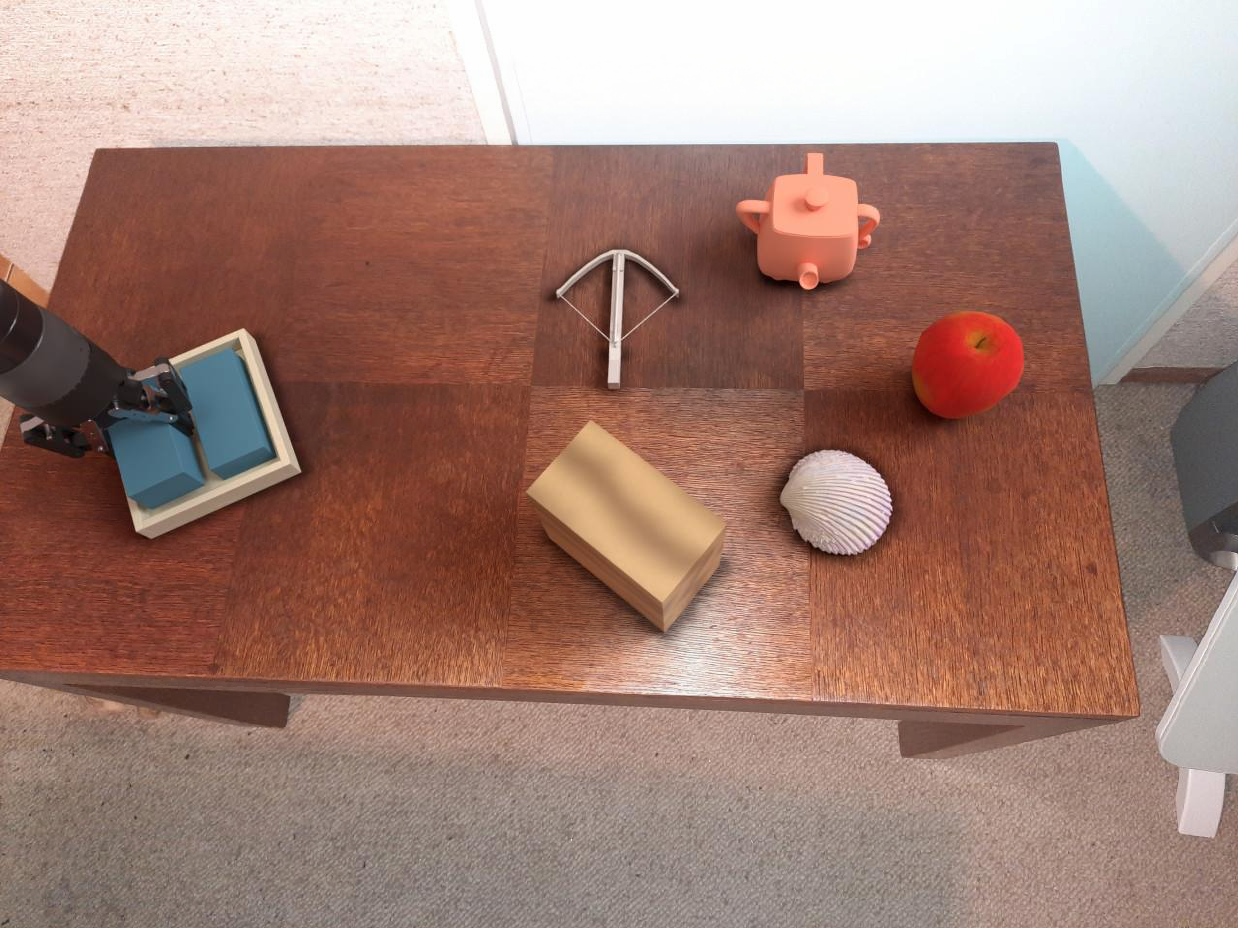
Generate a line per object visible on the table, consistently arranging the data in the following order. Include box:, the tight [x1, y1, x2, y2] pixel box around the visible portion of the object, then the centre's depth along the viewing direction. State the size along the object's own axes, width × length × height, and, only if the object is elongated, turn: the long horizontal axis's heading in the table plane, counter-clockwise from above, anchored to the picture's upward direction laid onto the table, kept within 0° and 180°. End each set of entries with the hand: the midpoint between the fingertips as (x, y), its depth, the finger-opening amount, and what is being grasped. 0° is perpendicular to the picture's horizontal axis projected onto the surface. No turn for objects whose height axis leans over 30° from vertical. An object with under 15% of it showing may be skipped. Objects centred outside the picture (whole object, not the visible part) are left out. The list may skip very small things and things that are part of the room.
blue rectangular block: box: [106, 385, 205, 510], centre depth 83 cm, size 6×12×4 cm, turn 26°
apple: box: [911, 310, 1025, 420], centre depth 78 cm, size 9×9×12 cm
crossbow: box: [556, 249, 680, 390], centre depth 88 cm, size 16×13×2 cm
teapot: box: [735, 152, 881, 290], centre depth 85 cm, size 12×12×10 cm
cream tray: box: [119, 327, 302, 540], centre depth 86 cm, size 16×17×3 cm
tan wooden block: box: [525, 419, 728, 633], centre depth 73 cm, size 8×14×14 cm, turn 50°
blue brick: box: [179, 348, 277, 480], centre depth 85 cm, size 6×12×3 cm, turn 25°
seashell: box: [779, 449, 893, 556], centre depth 79 cm, size 10×6×10 cm
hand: (159, 440), depth 84 cm, fingers closed on blue rectangular block, 5 cm apart
